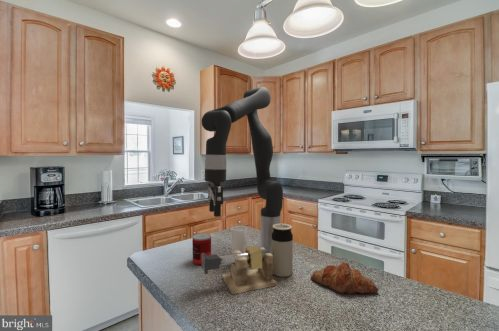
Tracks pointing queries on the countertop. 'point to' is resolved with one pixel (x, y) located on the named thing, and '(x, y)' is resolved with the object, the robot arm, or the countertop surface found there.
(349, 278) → the pastry
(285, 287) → the countertop surface
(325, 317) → the countertop surface
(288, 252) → the travel mug
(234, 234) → the drinking glass
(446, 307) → the countertop surface
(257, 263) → the block
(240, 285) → the block
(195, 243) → the canned food
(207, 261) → the shaft
